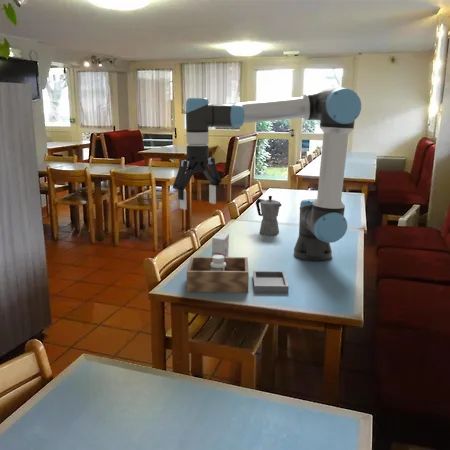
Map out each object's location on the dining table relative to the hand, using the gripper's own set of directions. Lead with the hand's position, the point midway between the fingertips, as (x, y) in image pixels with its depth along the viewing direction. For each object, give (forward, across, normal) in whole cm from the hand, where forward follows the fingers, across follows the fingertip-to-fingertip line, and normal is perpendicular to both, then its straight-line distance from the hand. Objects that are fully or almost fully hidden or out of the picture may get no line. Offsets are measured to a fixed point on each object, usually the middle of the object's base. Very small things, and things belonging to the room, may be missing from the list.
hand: (198, 206), depth 161 cm
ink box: (+25, -11, 0) cm, 27 cm away
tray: (+25, -9, +26) cm, 37 cm away
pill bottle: (+25, +3, +13) cm, 28 cm away
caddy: (+25, +3, +13) cm, 28 cm away
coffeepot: (+25, -59, -18) cm, 66 cm away
